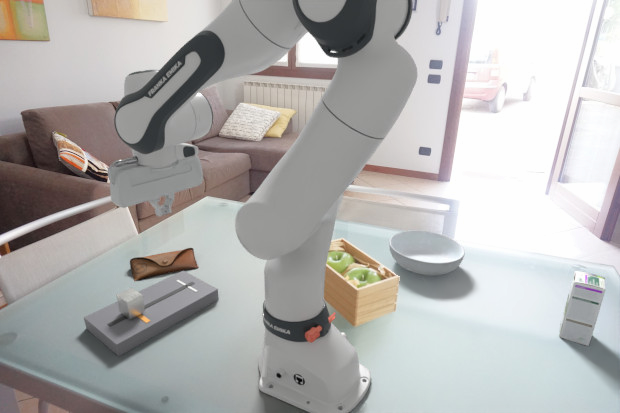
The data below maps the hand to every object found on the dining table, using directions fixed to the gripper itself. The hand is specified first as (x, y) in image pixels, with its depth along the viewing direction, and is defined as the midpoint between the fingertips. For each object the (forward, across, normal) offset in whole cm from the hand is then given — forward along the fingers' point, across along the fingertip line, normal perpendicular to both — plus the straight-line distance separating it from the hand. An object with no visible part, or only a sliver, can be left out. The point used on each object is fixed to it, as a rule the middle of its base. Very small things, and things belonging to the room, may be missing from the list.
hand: (163, 214), depth 90 cm
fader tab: (+21, -10, +2) cm, 23 cm away
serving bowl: (+25, +58, -38) cm, 74 cm away
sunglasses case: (+25, +10, +19) cm, 33 cm away
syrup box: (+26, +50, -77) cm, 95 cm away
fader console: (+25, -4, +2) cm, 25 cm away
